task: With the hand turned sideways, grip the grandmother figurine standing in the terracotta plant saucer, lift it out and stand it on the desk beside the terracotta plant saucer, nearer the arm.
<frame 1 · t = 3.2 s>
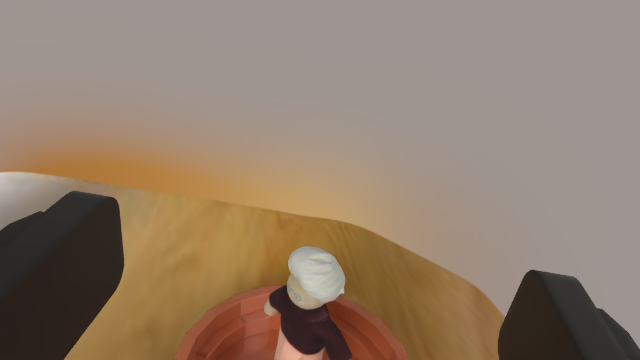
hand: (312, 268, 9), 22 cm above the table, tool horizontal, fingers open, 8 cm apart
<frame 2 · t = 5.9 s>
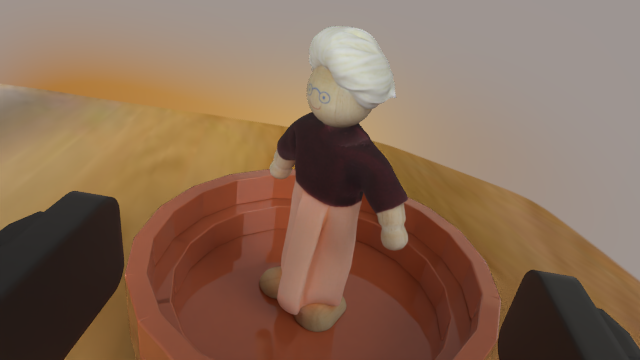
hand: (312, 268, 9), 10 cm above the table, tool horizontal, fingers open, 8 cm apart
terracotta plant saucer: (309, 308, 21), on the table
grandmother figurine: (309, 306, 21), resting on terracotta plant saucer
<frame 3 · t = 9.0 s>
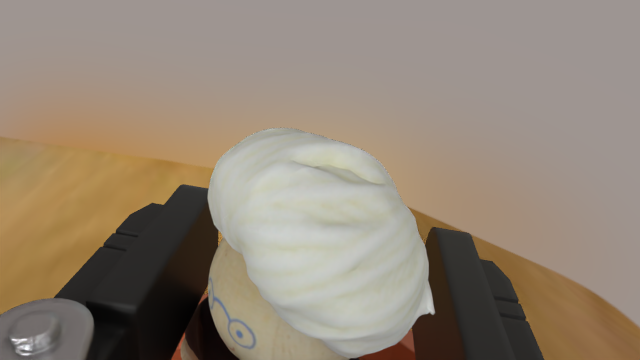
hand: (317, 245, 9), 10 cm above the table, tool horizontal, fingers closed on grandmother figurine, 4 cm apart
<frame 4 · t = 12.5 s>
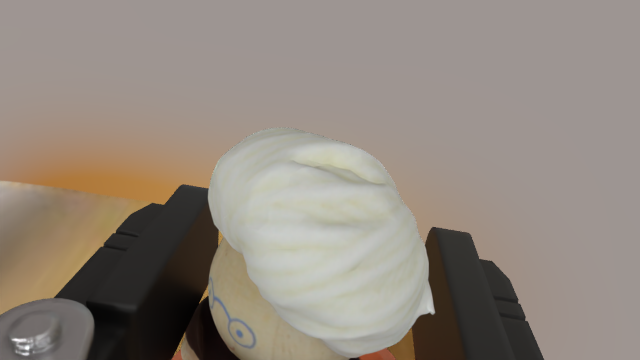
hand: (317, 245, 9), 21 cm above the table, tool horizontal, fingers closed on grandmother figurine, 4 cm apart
when the fingers open (9 cm above the table, at t = 16.5 s): grandmother figurine stays where it is, on the table.
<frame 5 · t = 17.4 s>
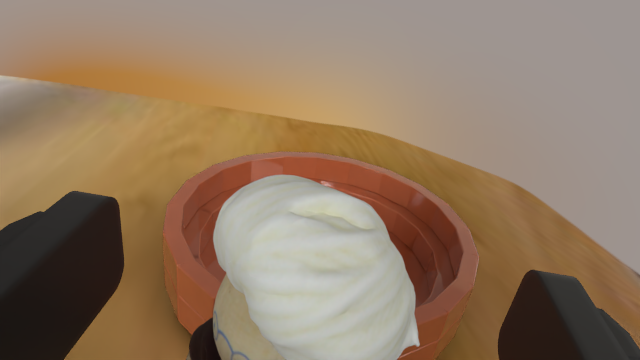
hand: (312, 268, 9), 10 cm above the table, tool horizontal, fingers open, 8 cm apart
terracotta plant saucer: (315, 269, 24), on the table
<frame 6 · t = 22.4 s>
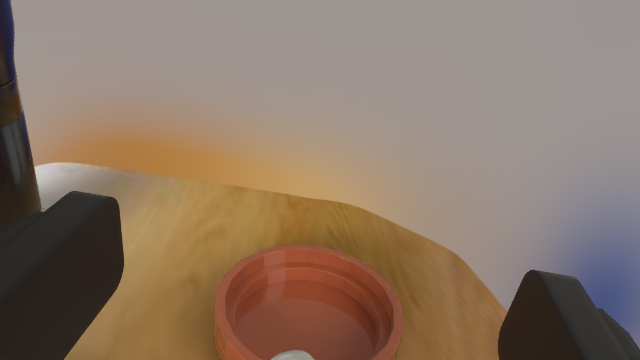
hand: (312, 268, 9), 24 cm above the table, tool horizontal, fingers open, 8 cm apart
terracotta plant saucer: (305, 331, 39), on the table
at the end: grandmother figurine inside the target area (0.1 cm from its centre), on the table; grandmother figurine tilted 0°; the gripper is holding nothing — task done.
